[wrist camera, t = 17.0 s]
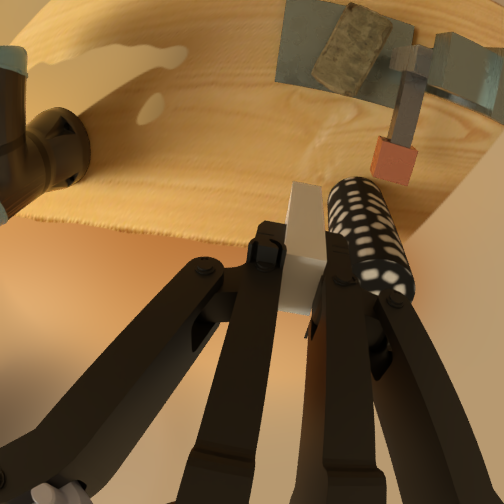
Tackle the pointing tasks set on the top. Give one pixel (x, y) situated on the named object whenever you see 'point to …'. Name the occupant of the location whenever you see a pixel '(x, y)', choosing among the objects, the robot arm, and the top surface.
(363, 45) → the stone block
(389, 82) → the press
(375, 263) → the white-spotted black cylinder
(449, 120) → the top surface
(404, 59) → the hammer
